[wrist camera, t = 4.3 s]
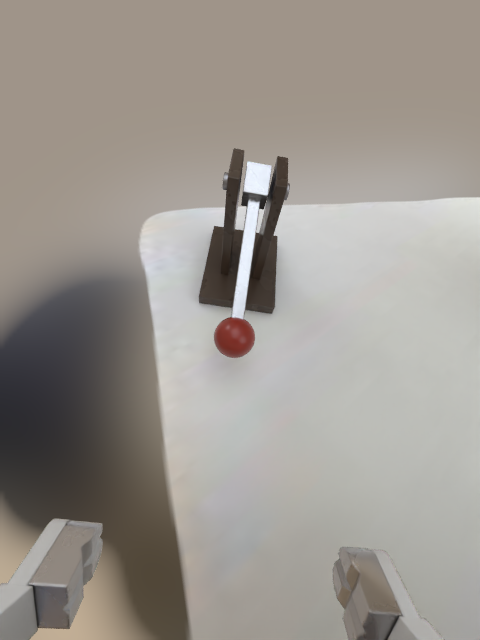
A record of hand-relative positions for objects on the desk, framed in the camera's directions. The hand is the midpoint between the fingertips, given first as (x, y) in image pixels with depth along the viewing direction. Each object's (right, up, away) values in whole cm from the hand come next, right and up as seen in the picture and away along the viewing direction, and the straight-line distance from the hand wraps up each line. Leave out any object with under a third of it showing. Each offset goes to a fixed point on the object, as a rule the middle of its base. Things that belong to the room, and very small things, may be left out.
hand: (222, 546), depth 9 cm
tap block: (+1, +14, +25) cm, 29 cm away
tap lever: (+1, +13, +16) cm, 20 cm away
